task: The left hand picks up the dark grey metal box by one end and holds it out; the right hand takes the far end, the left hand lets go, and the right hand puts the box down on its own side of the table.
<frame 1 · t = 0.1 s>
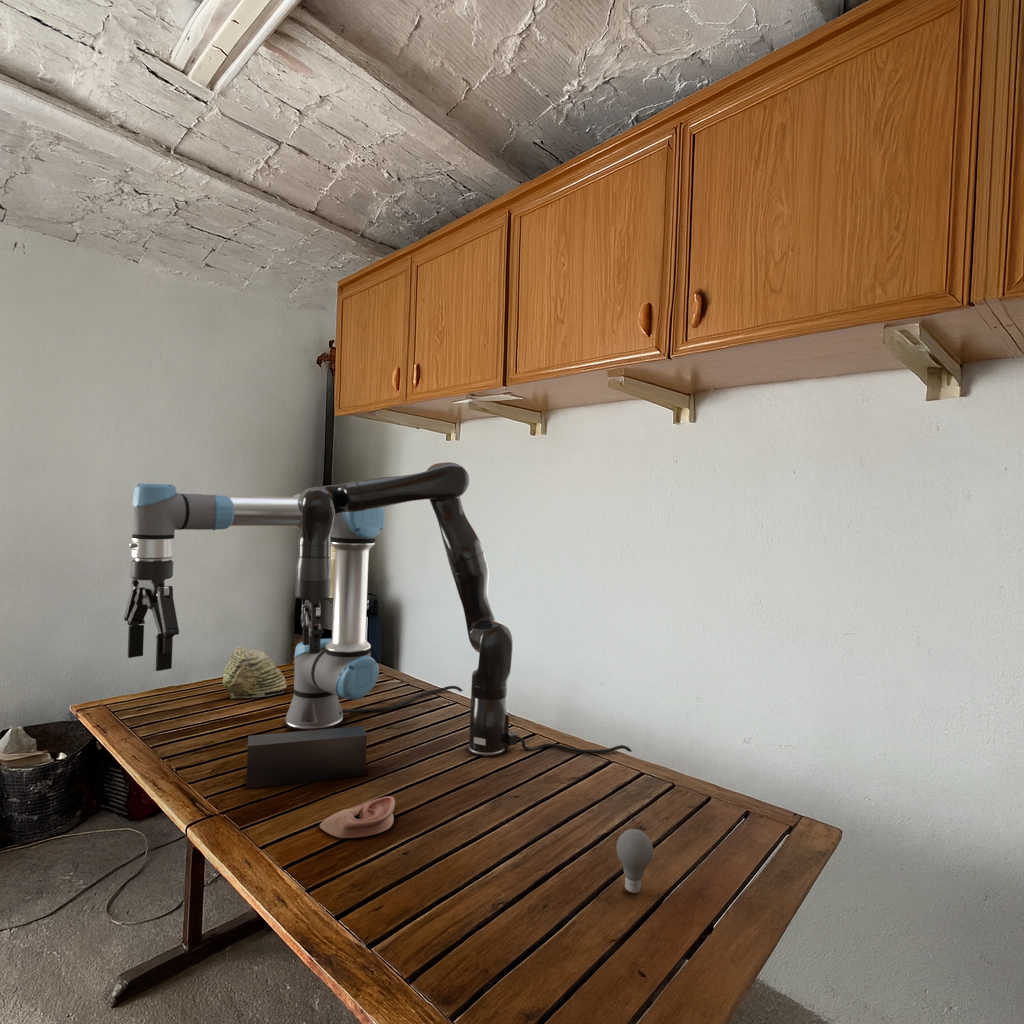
left hand: (149, 663, 129), 28 cm above the table, tool pointing down, fingers open, 13 cm apart
right hand: (310, 649, 141), 29 cm above the table, tool pointing down, fingers open, 8 cm apart
light bulb: (632, 891, 106), on the table
box: (306, 776, 143), on the table
fossil: (254, 694, 198), on the table
anatomical model: (357, 824, 123), on the table
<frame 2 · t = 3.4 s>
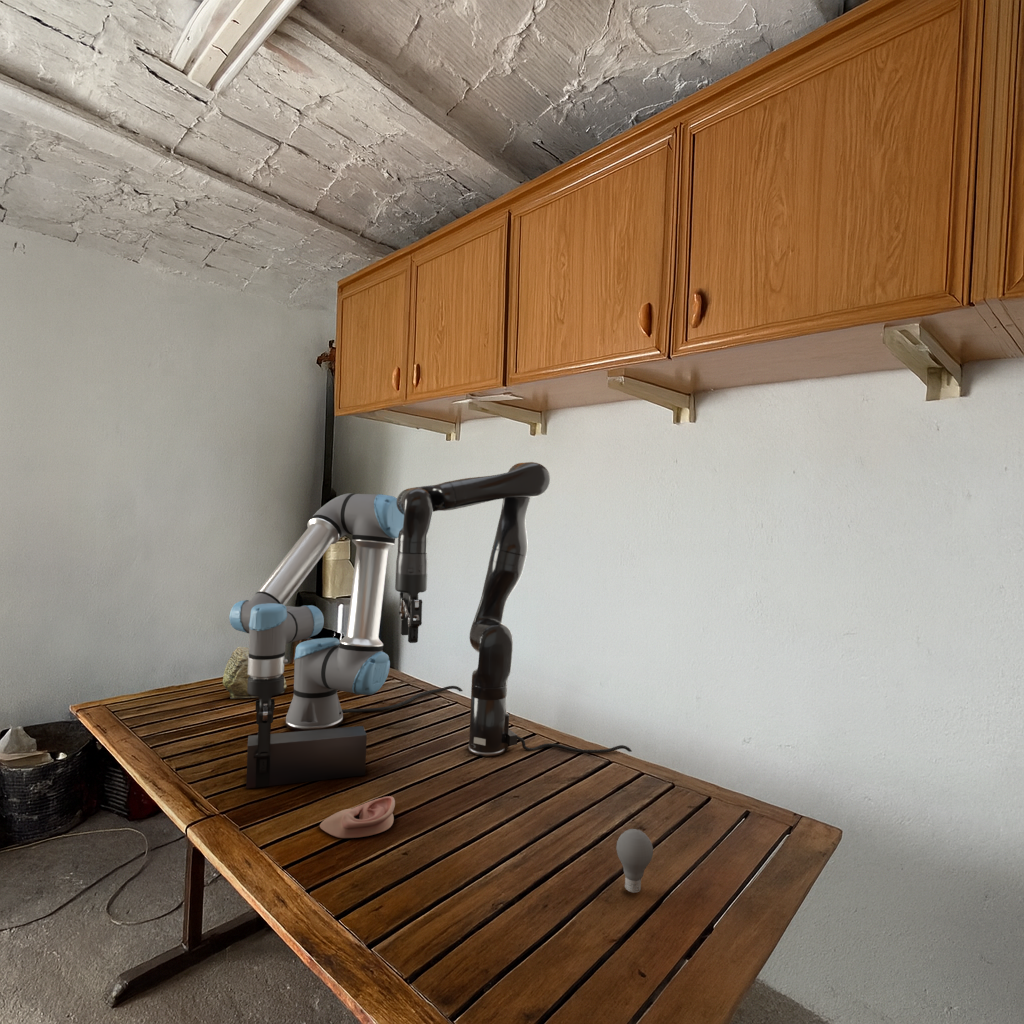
left hand: (262, 778, 140), 1 cm above the table, tool pointing down, fingers closed on box, 6 cm apart
right hand: (408, 638, 152), 30 cm above the table, tool pointing down, fingers open, 8 cm apart
box: (306, 776, 143), on the table, touching left hand
everything else where it was.
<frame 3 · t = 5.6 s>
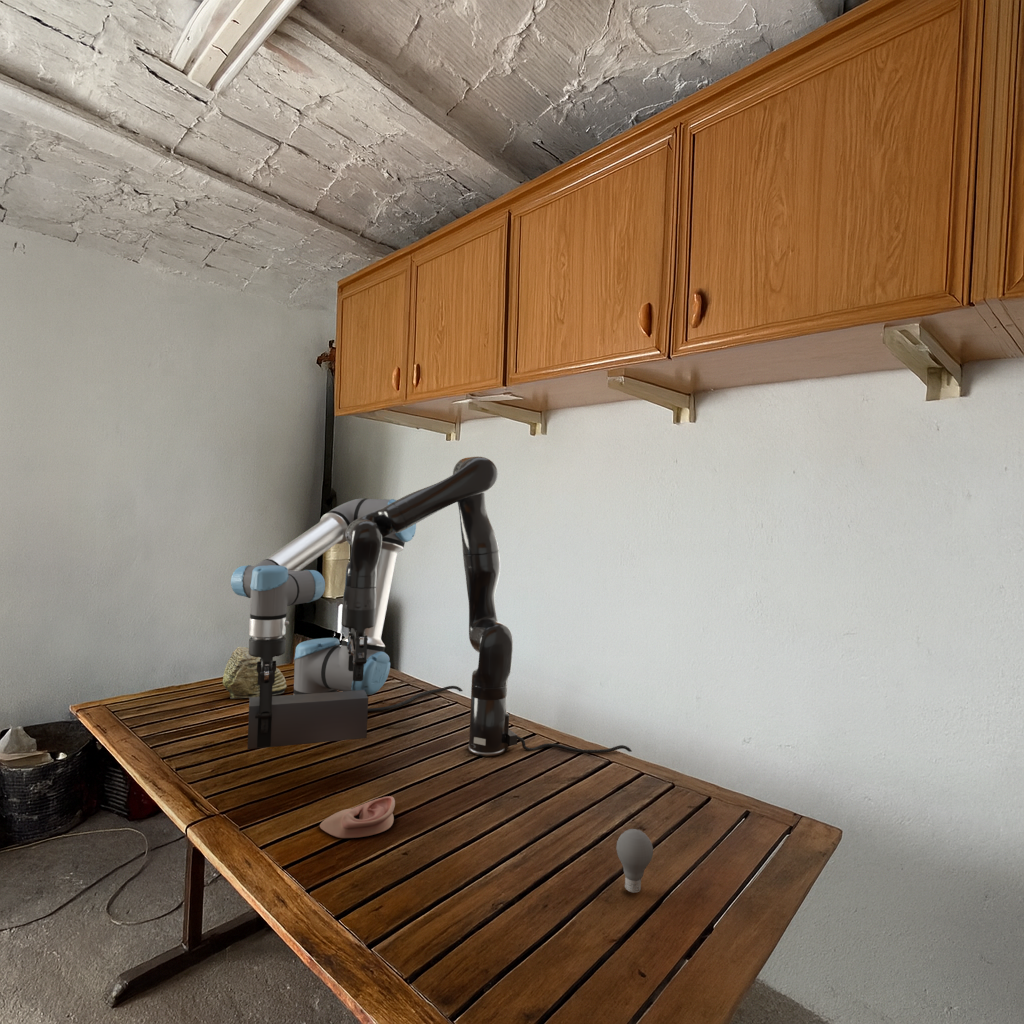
left hand: (263, 740, 140), 9 cm above the table, tool pointing down, fingers closed on box, 6 cm apart
right hand: (355, 675, 146), 22 cm above the table, tool pointing down, fingers open, 8 cm apart
box: (308, 738, 143), point 9 cm above the table, touching left hand
everything else where it was.
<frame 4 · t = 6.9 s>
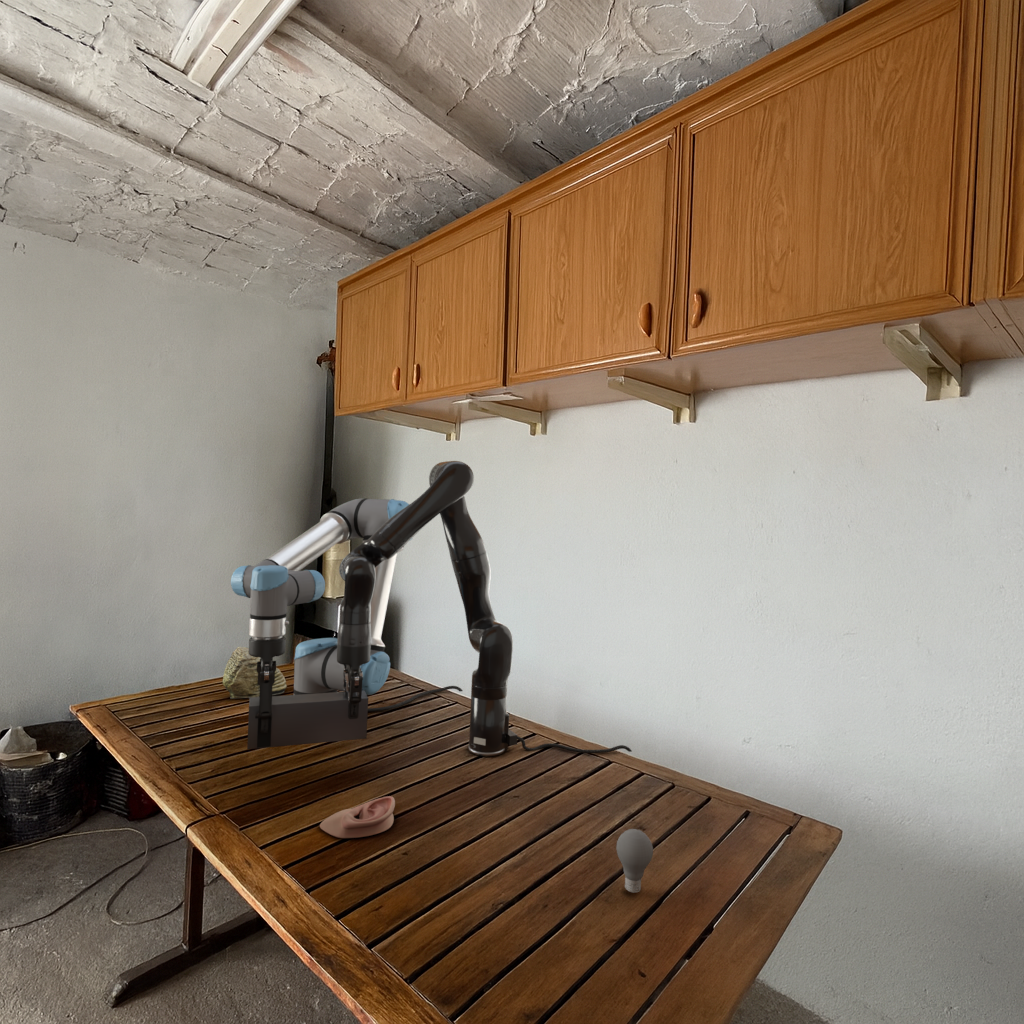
left hand: (263, 740, 140), 9 cm above the table, tool pointing down, fingers closed on box, 6 cm apart
right hand: (351, 713, 146), 14 cm above the table, tool pointing down, fingers closed on box, 6 cm apart
box: (308, 738, 143), point 8 cm above the table, touching left hand, right hand
everything else where it was.
when the left hand's fingers open (9 cm above the table, at t = 8.0 s): box stays where it is, held by the right hand.
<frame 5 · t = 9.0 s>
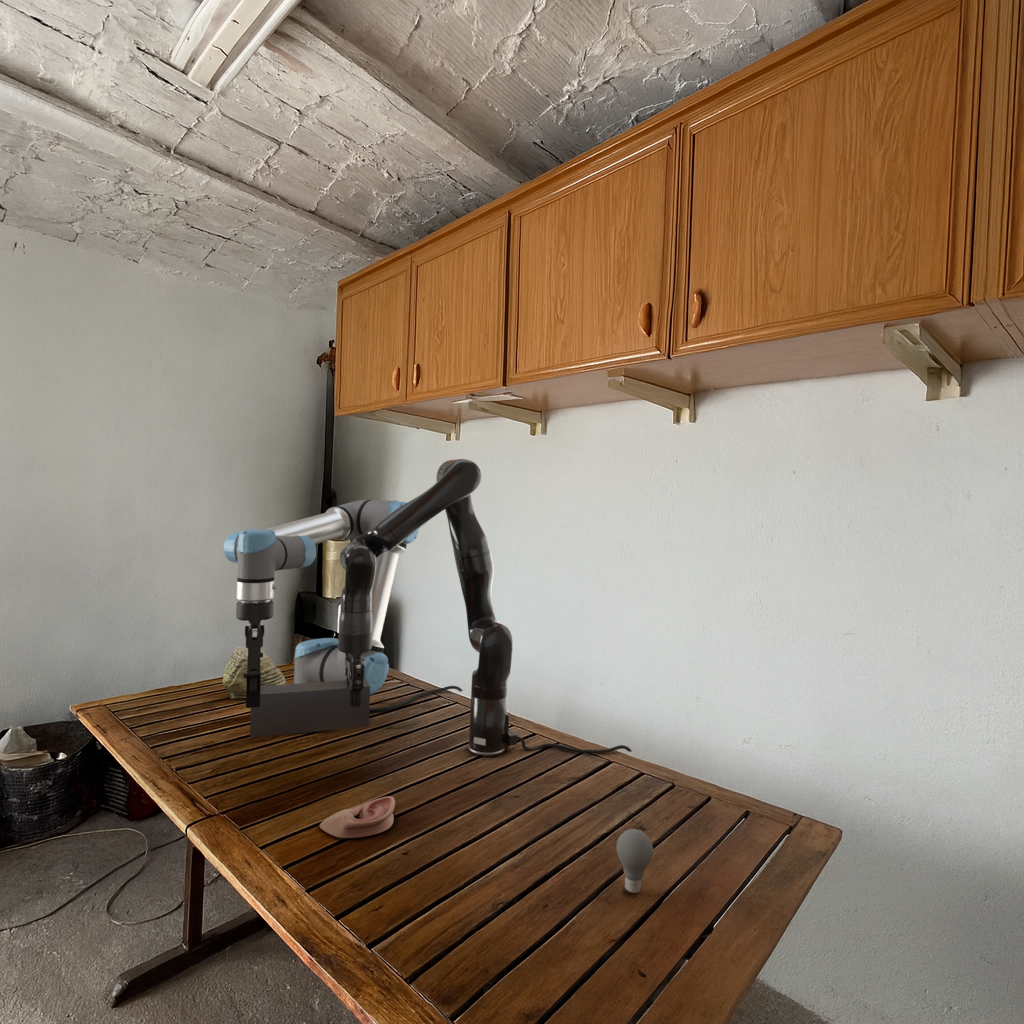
left hand: (253, 696, 139), 19 cm above the table, tool pointing down, fingers open, 13 cm apart
right hand: (353, 701, 146), 16 cm above the table, tool pointing down, fingers closed on box, 6 cm apart
box: (310, 727, 143), point 11 cm above the table, touching right hand
everything else where it was.
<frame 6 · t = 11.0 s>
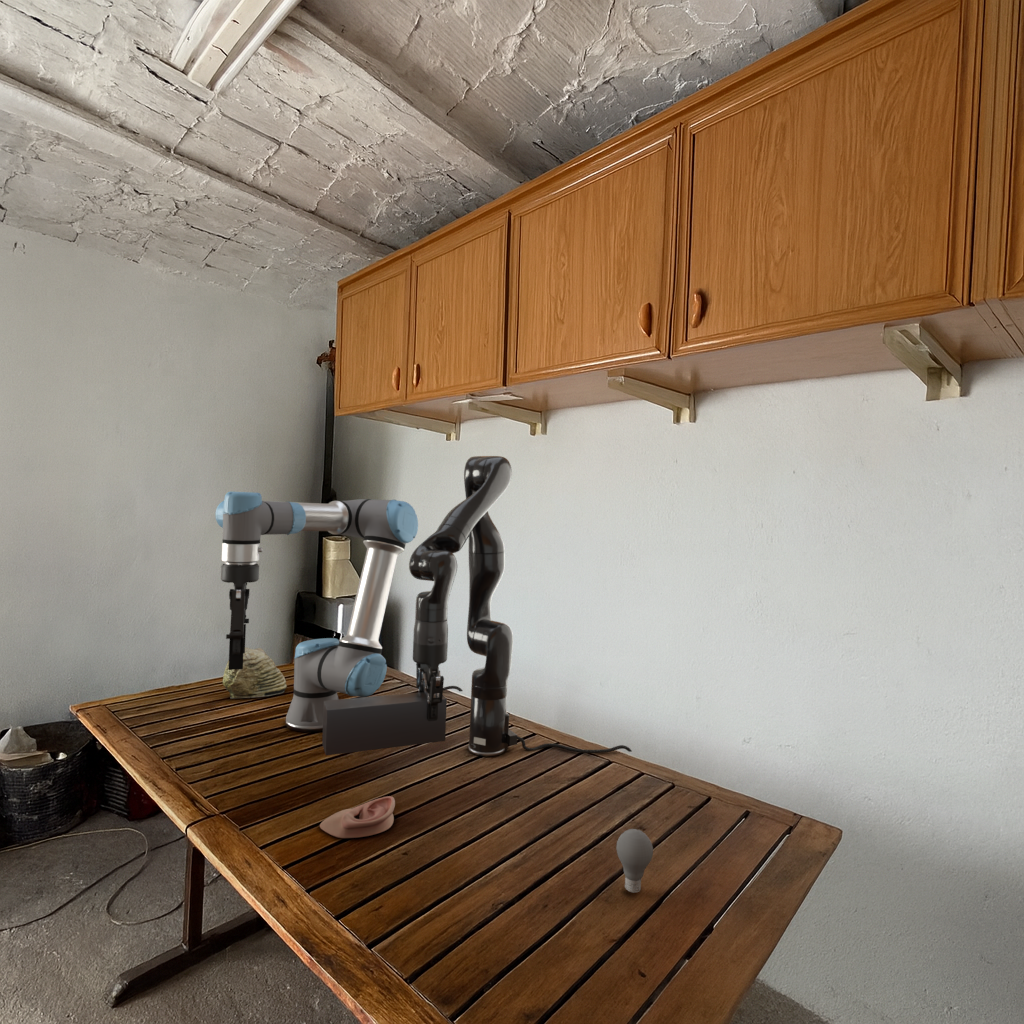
left hand: (237, 661, 137), 27 cm above the table, tool pointing down, fingers open, 13 cm apart
right hand: (428, 715, 139), 16 cm above the table, tool pointing down, fingers closed on box, 6 cm apart
box: (384, 742, 136), point 11 cm above the table, touching right hand
everything else where it was.
when the right hand's fingers open (7 cm above the table, at t = 15.2 s): box drops 2 cm, on the table.
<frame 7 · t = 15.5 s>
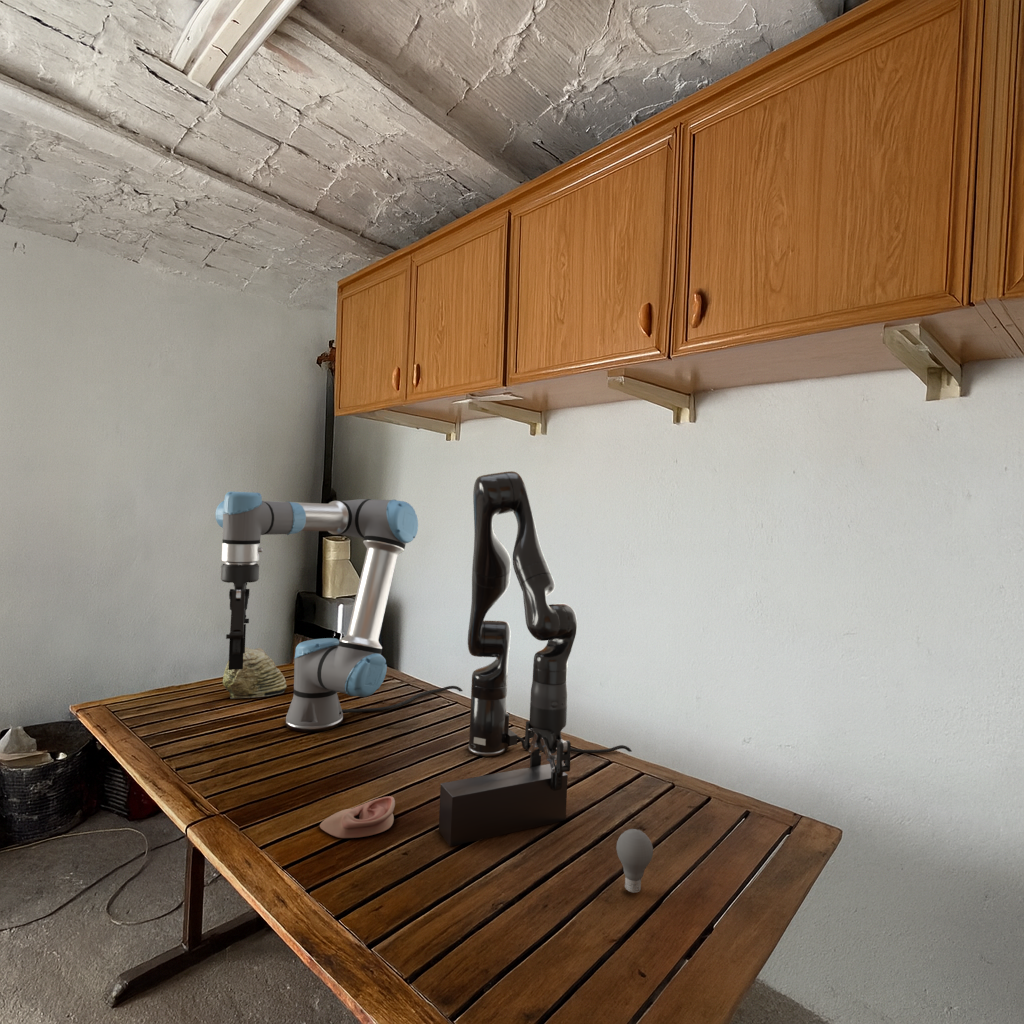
left hand: (237, 661, 137), 27 cm above the table, tool pointing down, fingers open, 13 cm apart
right hand: (545, 781, 129), 7 cm above the table, tool pointing down, fingers open, 8 cm apart
box: (503, 825, 125), on the table
everything else where it was.
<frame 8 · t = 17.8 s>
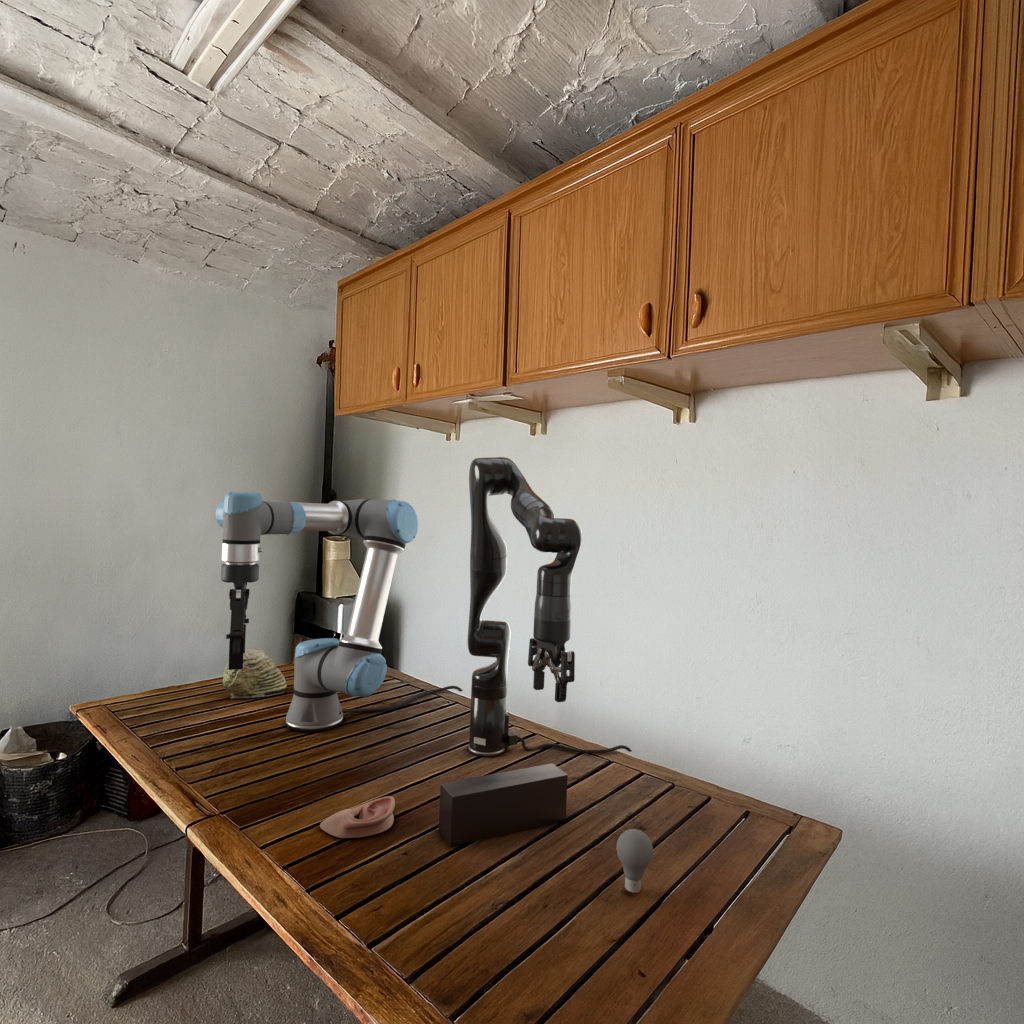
left hand: (237, 661, 137), 27 cm above the table, tool pointing down, fingers open, 13 cm apart
right hand: (549, 695, 129), 25 cm above the table, tool pointing down, fingers open, 8 cm apart
nothing on the table moved.
at the end: box inside the target area (9.2 cm from its centre), on the table; the left hand is holding nothing; the right hand is holding nothing; box at rest at the end (0.0 cm/s) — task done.
